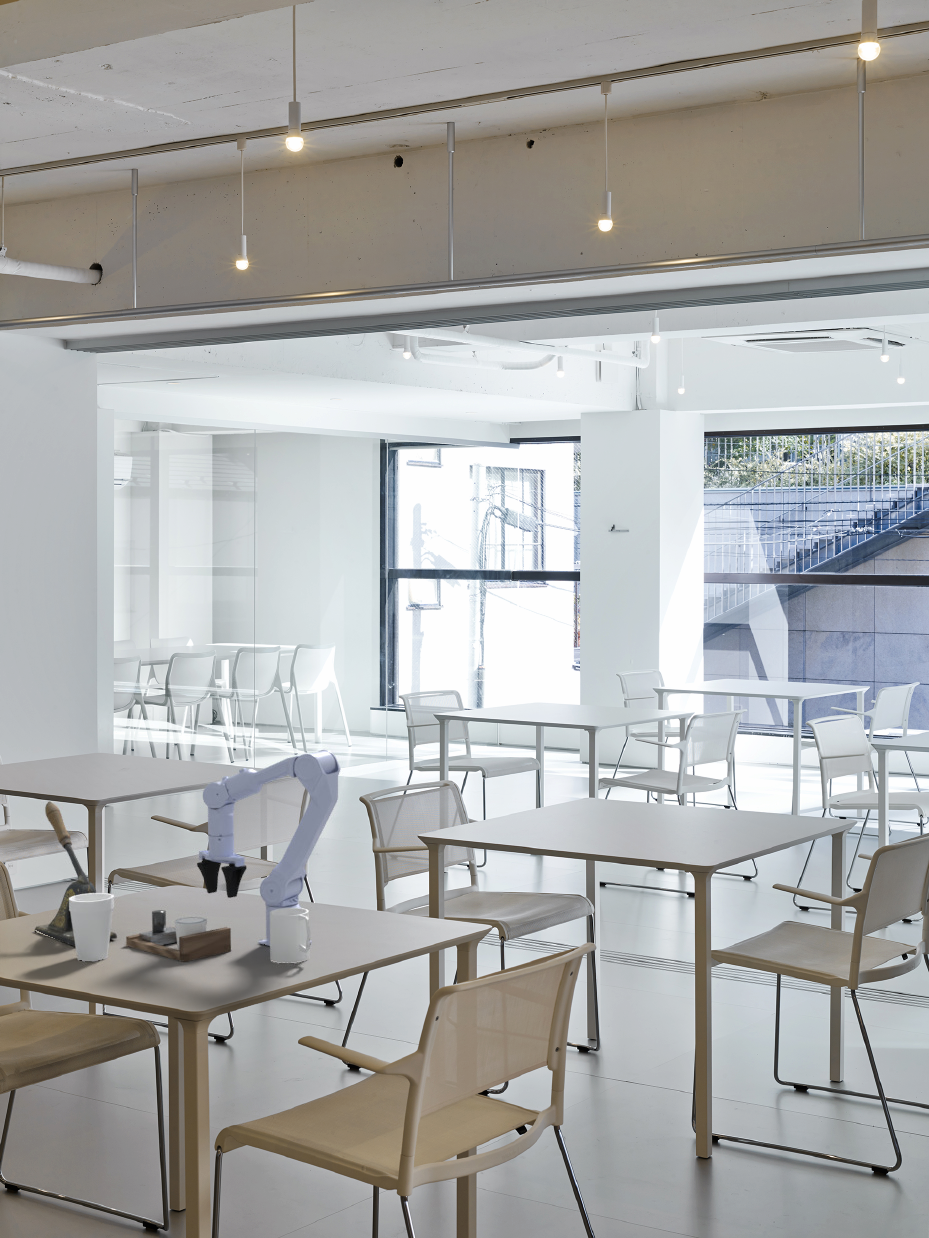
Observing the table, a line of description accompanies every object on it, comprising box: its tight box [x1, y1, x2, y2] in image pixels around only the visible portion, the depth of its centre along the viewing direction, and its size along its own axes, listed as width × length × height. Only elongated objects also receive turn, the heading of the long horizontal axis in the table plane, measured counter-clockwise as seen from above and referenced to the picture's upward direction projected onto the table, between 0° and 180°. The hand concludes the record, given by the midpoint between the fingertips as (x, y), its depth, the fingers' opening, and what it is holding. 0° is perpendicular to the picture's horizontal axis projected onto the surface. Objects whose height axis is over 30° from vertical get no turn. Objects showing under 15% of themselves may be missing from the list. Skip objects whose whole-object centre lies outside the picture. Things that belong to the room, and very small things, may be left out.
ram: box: [138, 909, 177, 946], centre depth 313 cm, size 4×8×7 cm, turn 136°
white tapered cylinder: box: [174, 916, 208, 950], centre depth 305 cm, size 7×7×7 cm
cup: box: [269, 907, 311, 963], centre depth 296 cm, size 8×12×10 cm
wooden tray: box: [125, 926, 232, 963], centre depth 308 cm, size 22×12×5 cm, turn 46°
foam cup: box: [69, 892, 115, 962], centre depth 301 cm, size 10×9×13 cm
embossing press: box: [34, 801, 118, 947], centre depth 322 cm, size 11×24×30 cm, turn 38°
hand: (222, 894), depth 317 cm, fingers open, 7 cm apart
